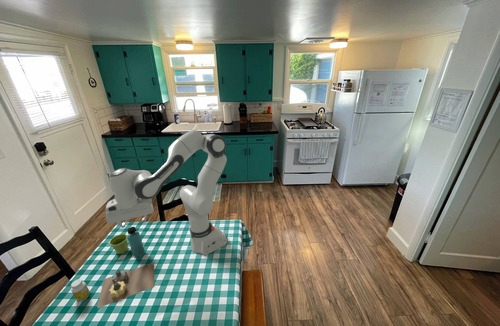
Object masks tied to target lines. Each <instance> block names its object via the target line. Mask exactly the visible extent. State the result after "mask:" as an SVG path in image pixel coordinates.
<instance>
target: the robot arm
mask: <svg viewBox="0 0 500 326" xmlns="http://www.w3.org/2000/svg"><path fill="white" fill-rule="evenodd" d="M226 148H227V142H226V139H225V138H224V137H223V136H221V135H218V134H214V133H209V134H207V133H204V134H202V133H201V132H200V131H199V130H197V129H191V130H189V131H187V132H185V133H183V134H182V135H181V136H179V137H178V138H176V140H174V141H173V142H172V143H171V144H170V145H169V147H168V148H167V149H168V150H167V160H166V162H165V163H164V164H163V165H162V166H161V167H160V168H159V169H158V170H157V171H156V172H154V173H153V174H152V173H151V172H150V171H149V170H147V169H140V170H133V169H129V168H127V167H123V168H117V169H116V170H114V171H113V172H111V174H110V176H109V184H110V189H111V191H112V193H113V194H114V198H113V199H111V200H109V201H108V202H107V203H106V206H105V211H106V212H105V221H106V223H107V224H108V225H111V224H115V223H116V224H117V225H118V226H120V228H121V229H123V228H126V224H125V223H126V222H124V221H126V220H131V219H135V218H139V217H142V218H141V221H142V223H146V222H147V217H148V215H151V214H153V213H154V211H155V210H154V207H153V200H152V199H153V198H155V197H156V196H157V195H158V194H159V192H160V191H161V189H162V188H163V186H164V184H166V183H167V182H168V181H169V180H170V178H172V176H174V175H175V174H176V172H178V171H179V170H180V169H181V167H182V166H183V165H184V163H185V162H187V160H188V159H189V158H190V157H191V156H192V155H194V153H196V152H197V151H199V150H201V151H203V152H204V153H207V159H206V161H205V163H204V165H203V166H202V168H201V170H200V172H199V173H198V175H197V186H194V185H190V184H187V185H185V186H183V187H182V188H181V189H180V191H179V197H180V199H181V201H182V204H183V207H184V210H185V212H186V215H187V218H188V222H189V233H190V237H191V242H190V243H191V244H190V249H191V251H192V252H194V253H196V254H201V255H202V256H208V255H209V254H211V253H213V252H215V251H216V250H218V249H221V248H222V247H224V246H226V245H228V244H227V243H228V239H227V236H226V234H225V232H223V230H221V229H220V228H219V227H218V226H216V225H215V226H214V225H213V223H212V222H211V221H210V220H209V214H210V213H211V211H213V208H214V200H213V199H214V198H213V197H214V191H215V187H216V184H217V183H218V181H219V178H221V177H220V176H221V175H222V173H223V171H224V169H225V166H226V165H227V161H228V159H227V156H226V155H225V154H226Z"/></svg>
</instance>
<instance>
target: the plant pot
mask: <svg viewBox="0 0 500 326" xmlns="http://www.w3.org/2000/svg"><path fill="white" fill-rule="evenodd" d="M127 236H128V234H126V233H120V234H117V235H115V236H113V237H112V238H111V239H109V241H108V242H109V245H110V246H112V248H113V250H114V251H115V253H116V254H119V255H121V254H124V253H126V251H128V248H129V247H128V246H129V245H128V238H127Z"/></svg>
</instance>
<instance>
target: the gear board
mask: <svg viewBox="0 0 500 326" xmlns="http://www.w3.org/2000/svg"><path fill="white" fill-rule="evenodd" d="M122 281H123V282H124V283H125V285H126V290H125V293H124V294H122V295H120V296H119V297H114V298H113V297H112V296H111V294H110V292H109V290H110V289H111V287H112V285H113V284H114V288H115V290H118V289H119V288H120V286H119V283H118V282H122ZM152 288H155V262H151V263H148V264H145V265H142V266H139V267H136V268H133V269H130V270H128V271H127V270H124V269H121V270H117V271H116V272H115V273H114V274H112V276H110V277H106V278H103V282H102V286H101V290H100V294H99V299H98V303H97V309H100V308H102V307H104V306H107V305H108V306H109V305H110V304H113V303H115V302H119V301H122V300H123V299H126V298H129V297H131V296H134V295H136V294H139V293H142V292H145V291H147V290H149V289H152Z"/></svg>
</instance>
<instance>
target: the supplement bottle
mask: <svg viewBox="0 0 500 326" xmlns="http://www.w3.org/2000/svg"><path fill="white" fill-rule="evenodd" d="M70 287H71V289H70V290H71V292H72V295H73V297H74V298H75V300H76V302H83V301H84V300H86V299H87V298H89V296H90V294H91V292H90V289H89V287H88V285H87V283H86V282H85V281H83V280H82V278H78V279H76V280H74V281H72V283H71V284H70Z"/></svg>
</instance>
